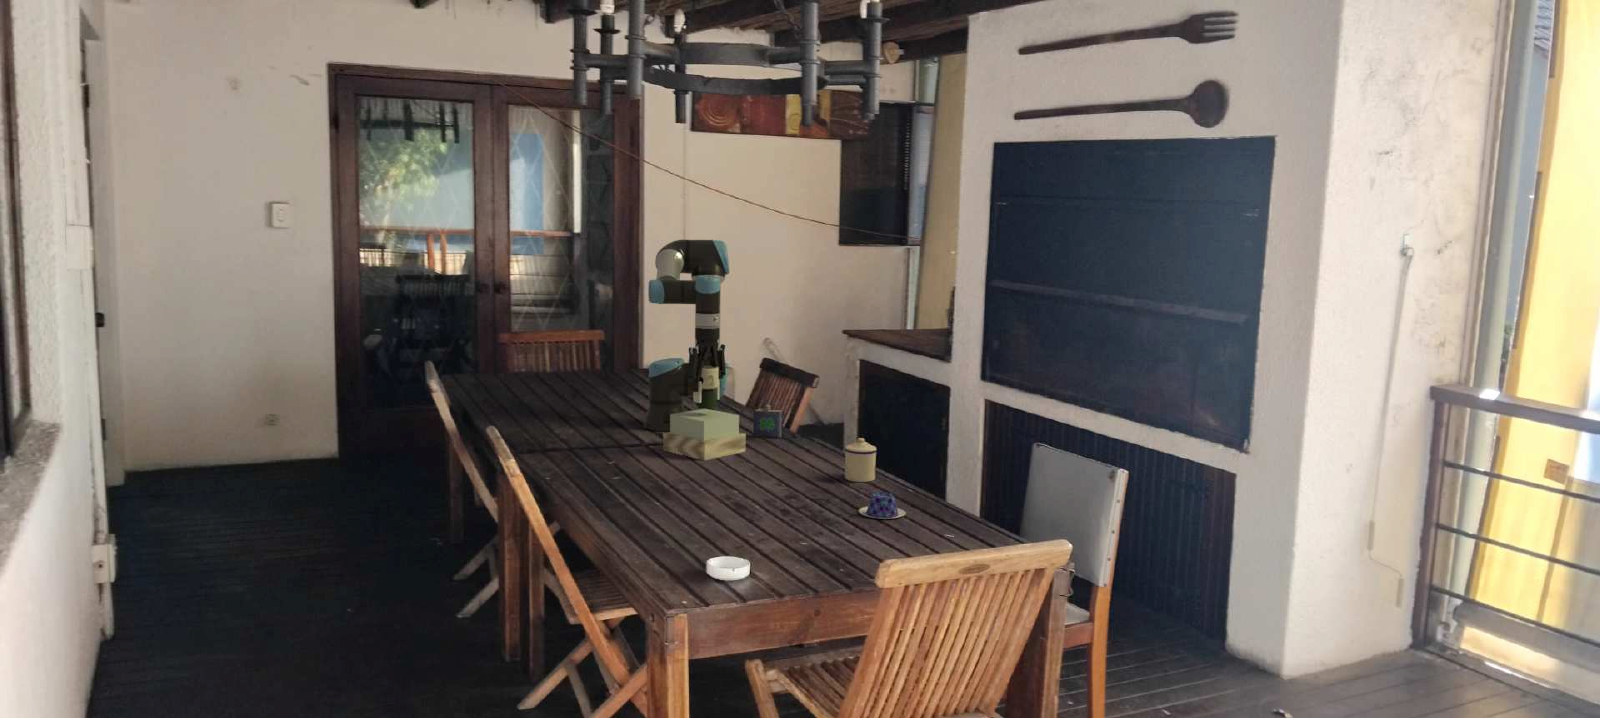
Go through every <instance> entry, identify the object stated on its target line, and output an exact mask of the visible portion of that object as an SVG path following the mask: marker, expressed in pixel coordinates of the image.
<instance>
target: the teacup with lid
mask: <svg viewBox="0 0 1600 718" xmlns="http://www.w3.org/2000/svg"><path fill="white" fill-rule="evenodd" d="M844 451H845V452H844V453H845V457H844V459H845V460H844V461H845V462H844V479H846V481H847V480H848V481H850V482H854V483H855V482H856V483H868V482H872V481H874V480H875V479H876V461H877V459H876V458H877V457H876V456H877V451H878V450H877V447H876V446H875V445H871V444H870V443H868V442H867V441H865V438H863V437H862V438H861V437H858V438H857V441H855V442H853V443H851V444H848V445H846V446H845V447H844Z"/></svg>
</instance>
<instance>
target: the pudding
mask: <svg viewBox="0 0 1600 718" xmlns="http://www.w3.org/2000/svg"><path fill="white" fill-rule="evenodd" d="M858 513H859V514H861V515H862V516H865V517H868V518H872V519H876V518H879V519H881V520H882V519H883V520H889V519H898V518H901V517H904V516H905V515H906V514H907V511H905V510H904V509H902V508H899V507H898V506H897V502H896V497H895V496H894V495H893V494H892V493H889V492H881V491H880V492H875V493H872V494H871V496H870V499H869V502H868V505H867V506H864V507H861V508H860V509H858Z"/></svg>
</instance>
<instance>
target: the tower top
mask: <svg viewBox="0 0 1600 718" xmlns="http://www.w3.org/2000/svg"><path fill="white" fill-rule="evenodd" d="M669 432H670V434H675V435H679V436H684V437H688V438H693V439H697V440H702V441H706V440H712V439H717V438H722V437H727V436H732V435H737V434H739V433H740V415H739V414H735V413H729V412H725V411H724V412H723V411H718V410H716V409H715V410H713V409H711V408H709V410H708V409H701V408H699V409H696V410H687V411H685V412H682V413H676V414H670V431H669Z"/></svg>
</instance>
